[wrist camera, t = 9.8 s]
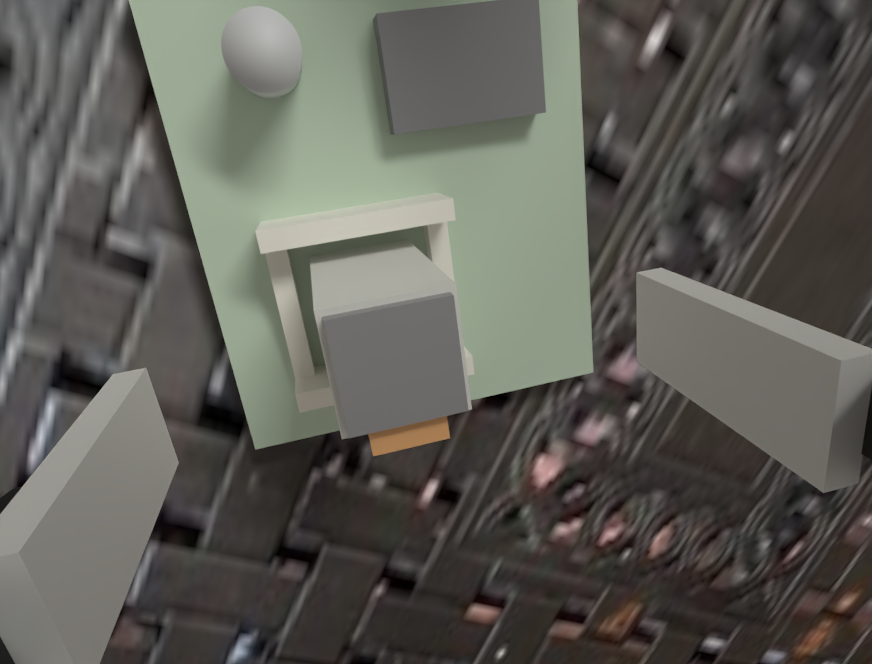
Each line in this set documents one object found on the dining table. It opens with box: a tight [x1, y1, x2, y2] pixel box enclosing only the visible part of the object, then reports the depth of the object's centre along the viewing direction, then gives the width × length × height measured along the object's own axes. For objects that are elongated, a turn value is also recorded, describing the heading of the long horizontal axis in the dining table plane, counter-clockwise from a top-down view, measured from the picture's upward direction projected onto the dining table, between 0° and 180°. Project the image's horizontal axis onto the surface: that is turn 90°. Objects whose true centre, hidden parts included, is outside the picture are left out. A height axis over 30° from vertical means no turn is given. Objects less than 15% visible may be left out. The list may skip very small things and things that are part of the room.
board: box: [129, 0, 593, 450], centre depth 22 cm, size 18×16×4 cm
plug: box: [310, 239, 472, 456], centre depth 20 cm, size 5×4×8 cm
